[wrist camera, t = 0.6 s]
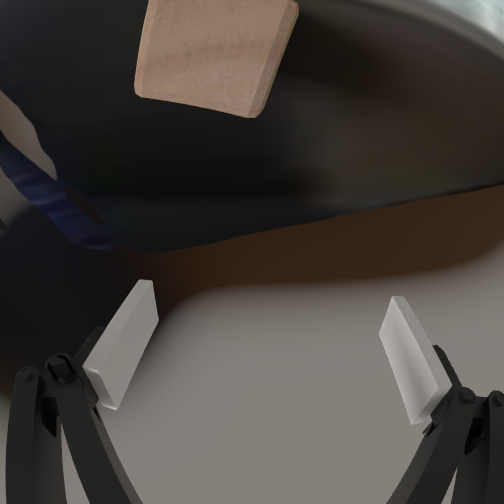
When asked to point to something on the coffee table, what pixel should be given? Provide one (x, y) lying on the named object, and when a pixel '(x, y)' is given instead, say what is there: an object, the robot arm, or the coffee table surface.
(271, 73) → the block
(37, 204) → the coffee table surface
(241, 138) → the coffee table surface
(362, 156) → the coffee table surface
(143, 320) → the robot arm
